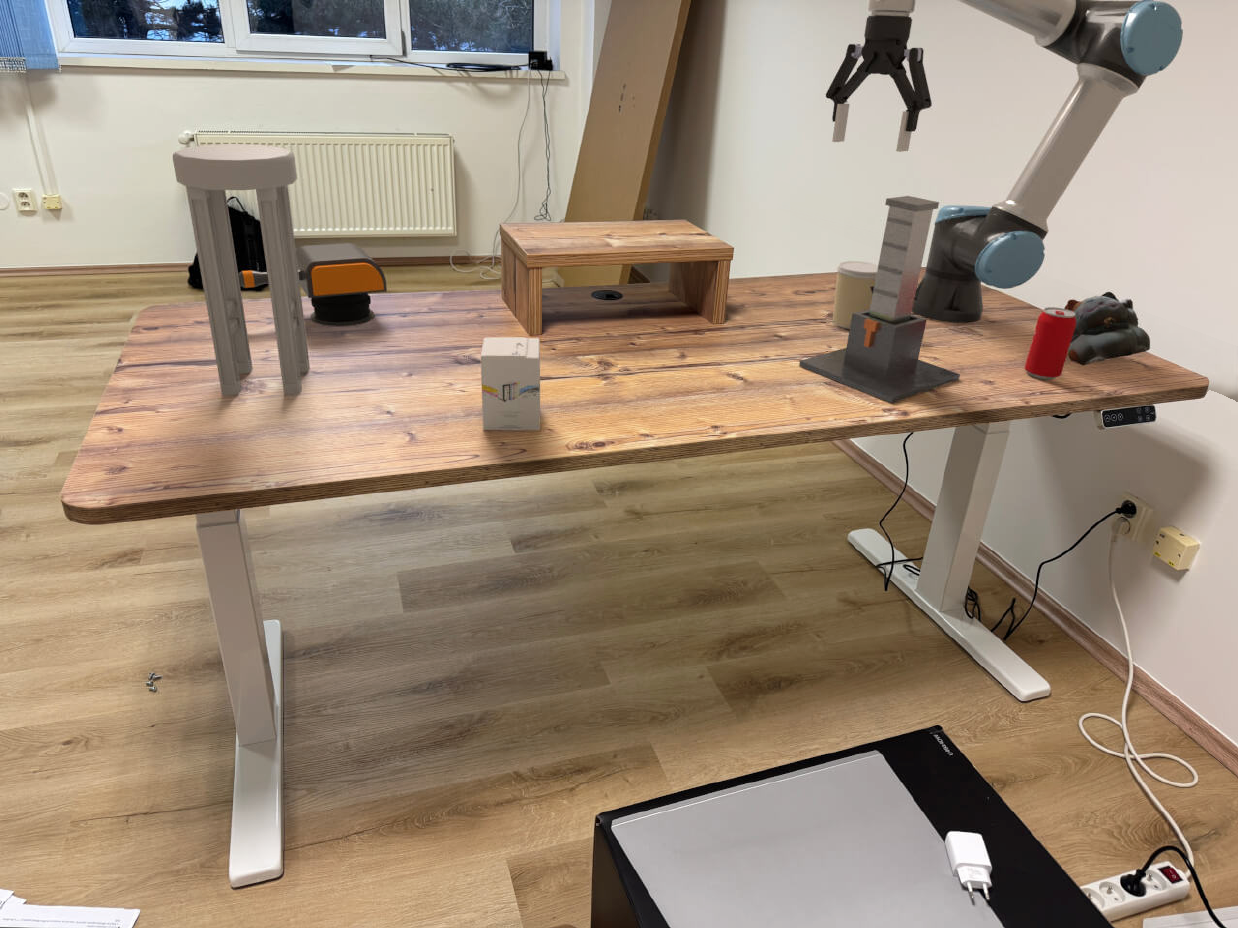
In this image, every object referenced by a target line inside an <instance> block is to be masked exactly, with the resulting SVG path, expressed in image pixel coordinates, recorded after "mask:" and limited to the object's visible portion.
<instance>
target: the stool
mask: <svg viewBox="0 0 1238 928" xmlns="http://www.w3.org/2000/svg"><path fill="white" fill-rule="evenodd" d="M172 162H173V166H174V173H175V178H176V182H177V183H178V184H180V185H182V186H185V188H186V195H187V200H188V205H189V213H190V217H191V218H190V219H191V223H192V224H191V225H192V228H193V229H192V230H193V235H194V242H195V246H196V252H197V258H198V263H199V269H200V275H201V281H202V282H201V283H202V287H203V291H204V292H203V293H204V297H205V299H204V300H205V305H206V311H207V316H208V321H209V322H208V323H209V327H210V332H211V338H212V339H211V340H212V345H213V349H214V357H215V362H216V363H215V364H216V366H217V372H218V378H219V384H220V389H221V396H222V397H224V396H225V397H228V396H229V397H230V396H231V397H232V396H239V395H240V393H241V391H242V386H241V380H240V375H241V374H242V375H243V374H245V375H246V374H251V373H252V372H253V369H254V368H253V363H252V356H251V355H252V354H251V350H250V342H249V337H248V328H247V323H246V317H245V316H246V314H245V311H244V310H245V309H244V303H243V297H242V296H243V295H242V290H241V286H240V283H239V276H238V274H239V271H238V265H237V257H236V252H235V251H236V250H235V245H234V238H233V232H232V226H231V219H230V214H229V205H228V199H227V194H226V191H251V190H255V191H256V199H257V208H258V209H257V210H258V215H259V222H260V229H261V236H262V244H263V245H262V246H263V251H264V259H265V264H266V272H267V274H268V281H269V283H268V287H269V295H270V301H271V302H270V303H271V309H272V310H271V311H272V317H273V324H274V330H275V331H274V332H275V338H276V345H277V352H278V360H279V366H280V375H281V381H282V389H283V395H301V392H302V389H303V388H302V381H301V380H302V379H301V374H303V373H304V374H305V373H309V371H310V369H311V366H310V358H309V349H308V342H307V333H306V325H305V317H304V309H303V301H302V300H303V299H302V292H301V285H300V282H299V274H298V266H297V258H296V250H297V249H296V242H295V235H294V234H295V233H294V227H293V226H294V225H293V218H292V211H291V210H292V209H291V201H290V193H289V185H292V184H294V183H295V182H296V181H297V179H298V174H297V165H296V159H295V153H294V152H292V150H288V149H286V148H283V147H279V146H272V145H271V146H270V145H264V144H250V143H249V144H247V143H246V144H245V143H244V144H242V143H222V144H221V143H220V144H204V145H197V146H189V147H183V148H180V149H179V150H176V151H175V152H173V154H172ZM300 373H301V374H300ZM239 374H240V375H239Z"/></svg>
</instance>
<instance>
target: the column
mask: <svg viewBox="0 0 1238 928" xmlns="http://www.w3.org/2000/svg"><path fill="white" fill-rule="evenodd" d="M939 204H940V202H939V201H933V200H930V199H924V198H921V197H915V196H910V195H905V196H904V195H903V196H897V197H895V196H894V197H889V198H886V199H885V206H888V211H887V216H886V217H887V218H886V222H885V228H884V234H883V239H882V242H881V243H882V244H881V249H880V253H879V254H880V255H879V260H878V264H877V265H878V270H877V275H876V280H875V285H874V291H873V296H872V301H871V307H870V312H869V317H871V318H874V319H877V320H880V321H883V322H886V323H889V324H892V325H897V324H900V323H904V322H908V321H910V317H911V314H912V313H913V312H912V308H913V303H914V298H915V293H916V289H917V287H918V285H919V283H918V282H919V279H920V278H919V277H920V273H921V268H922V263H923V259H924V254H925V251H926V245H927V240H928V236H929V231H930V228H931V227H930V226H931V222H932V218H933V211H934V210H937V209H939Z"/></svg>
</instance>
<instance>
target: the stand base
mask: <svg viewBox="0 0 1238 928" xmlns="http://www.w3.org/2000/svg"><path fill="white" fill-rule="evenodd" d="M869 312H870V309H868V310H864V311H860V312H856V313H853V314H852V320H851V325H850V329H849V331H848V338H847V341H846V342H847V343H846V347H845V348H841V349H837V350H834V351H830V352H826V353H823V354H819V355H816V356H813V357H808V358H805V359H801V360H799V365H798V366H799V367H801V368H804V369H806V370H807V371H811V372H813V373H816V374H818V375H821V376H823V377H826V378H828V379H830V380H833V381H836V382H838V383H841V384H843V385H845V386H847V387H850V388H852V389H855V390H858V391H859V392H863V393H865V394H867V395H870V396H873V397H875V398H877V399H880V400H882V401H885V402H886V403H890V404H893V403H897V402H899V401H902V400H905V399H908V398H911V397H913V396H916V395H919V394H922V393H925V392H928V391H930V390H934V389H936V388H939V387H941V386H944V385H947V384H950V383H953V382H956V381H959V380H960V376H961V374H959V373H957V372H955V371H951V370H949V369H946V368H943V367H940V366H938V365H936V364H935V365H934V364H932V363H930V362H926V361H924V360H920V359H919V356H920V352H921V349H922V343H923V338H924V334H925V330H926V329H925V328H926V325H927V321H928V320H927V319H928V318H925V317H922V316H919V315H916V314H912V313H911V317H910V321H908V322H904V323H900V324H897V325H892V324H889V323H886V322H883V321H880V320H877V319H874V318H871V317H869Z"/></svg>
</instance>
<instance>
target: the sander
mask: <svg viewBox="0 0 1238 928" xmlns="http://www.w3.org/2000/svg"><path fill="white" fill-rule="evenodd" d="M296 258H297V266H298V274H299V282H300V288H301V289H302V290H303V292H304V293H305V295H306V296H307V298H308V299H310V301H311V303H310V304H311V306H312V308H313V312H312V313H311V314H310V316H309V317H310V321H312V323H315V324H317V325H320V326H325V327H326V326H327V327H338V328H339V327H351V326H359V325H362V324H366V323H368V322H370V321H372V320H374V318H375V312H374V311H373V310H372V309H370V304H372V301H371V300H372V299H371V295H369V294H373V293H382V292H383V293H385V292H387V291H388V290H387V288H388V287H387V280H386V276H385V274H384V271H383V269H382V268H381V266H379V264H377V263H376V261H375V260H374V259H373V258H372V257H371V256H370V255H369V254H368V253H367V252H366V251H365V250H364V249H363V248H362V247H361V246H360V245H357V244H355V243H352V242H345V243H329V244H328V243H327V244H314V245H311V244H310V245H301V246H300V247H297V249H296ZM238 276H239V283H240V287H242V288H245V289H247V288H256V287H258V286H260V285H262V286H263V285H264V284H266V285H267V284H268V285H269V281H268V274H267V271H262V272H261V271H257V270H251V269H250V270H241V271H240V272H238Z"/></svg>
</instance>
